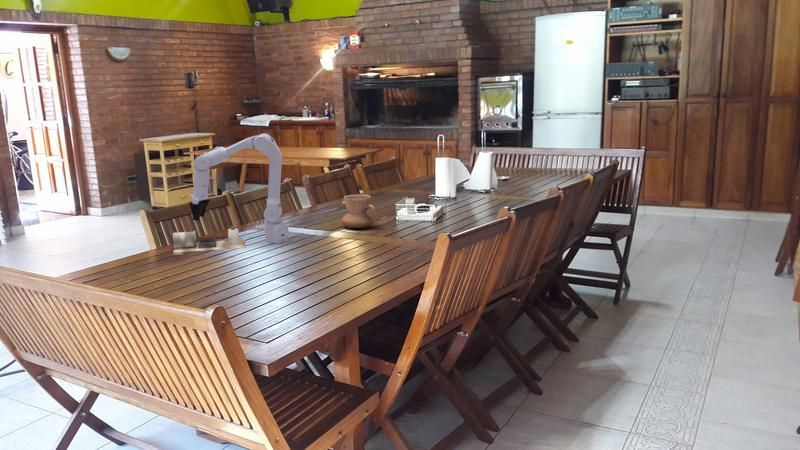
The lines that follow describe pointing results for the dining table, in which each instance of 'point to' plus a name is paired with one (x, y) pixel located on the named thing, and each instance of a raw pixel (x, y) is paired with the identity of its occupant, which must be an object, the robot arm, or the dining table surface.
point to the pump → (233, 236)
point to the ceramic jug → (358, 211)
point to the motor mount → (200, 243)
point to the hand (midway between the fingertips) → (198, 218)
